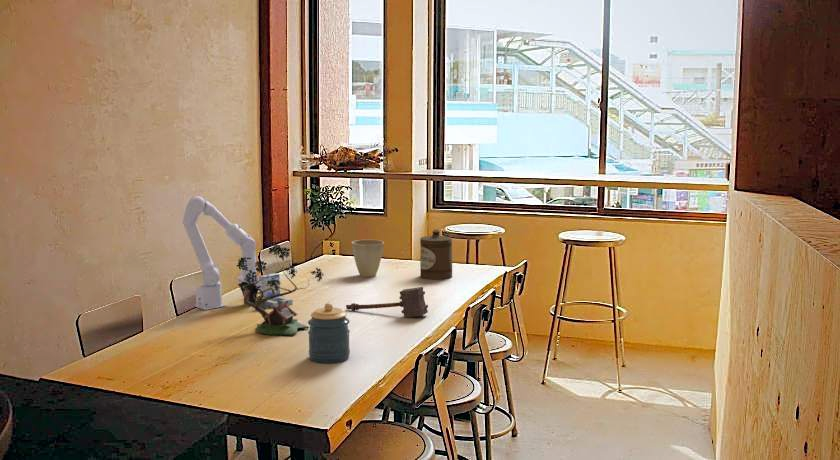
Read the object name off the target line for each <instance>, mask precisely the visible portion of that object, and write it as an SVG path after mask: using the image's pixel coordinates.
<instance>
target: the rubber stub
mask: <svg viewBox="0 0 840 460" xmlns="http://www.w3.org/2000/svg"><path fill="white" fill-rule="evenodd" d="M264 298H265V297H263V298H262V299H264ZM258 306H259V307H261V308H262V309H264V310H265V311H266V310H268V306H267V301H265V302H264V304H263V303H262V304H259V305H258Z"/></svg>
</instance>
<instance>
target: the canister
mask: <svg viewBox="0 0 840 460" xmlns="http://www.w3.org/2000/svg"><path fill="white" fill-rule="evenodd" d="M347 315H348V313H347V312H346V311H345V310H343V309H341V308H338V307H334V306H333V304H332V303H330V302H327V303H325V304H324V306H323V307H319V308H317V309H315V310H314V311H313V312H311V313H310V317H311V318H310V319H309V320H307V324H308V325H309V330H308V357H309V360H310V361H312V362H315V363H318V364H319V363H322V364H335V363H340V362H343V361H346V360H348V359H349V358H350V354H351V351H350V350H351V349H350V332H351V331H350V329H349V323H350V319H349V318H347Z"/></svg>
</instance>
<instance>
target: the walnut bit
mask: <svg viewBox="0 0 840 460" xmlns="http://www.w3.org/2000/svg"><path fill="white" fill-rule="evenodd" d="M247 293H248V291H247V290H244V297H243V299H244V298H245V296H246V295H247ZM246 300H247V301H248V302H250V300H249V296H248V297H247V299H246ZM256 301H257V300H256ZM256 301H255V302H256ZM255 302H252V304H253V303H255ZM243 305H244V306H247V307H250V305H248V304H247V303H246V302H245V301H244V300H243Z"/></svg>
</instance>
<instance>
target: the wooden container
mask: <svg viewBox="0 0 840 460" xmlns="http://www.w3.org/2000/svg"><path fill="white" fill-rule="evenodd" d="M440 233H441V231H440V230H439V229H433V230H432V233H431V234H432V235H427V236H422V237H420V241H419V242H420V243H419V244H420V259H419V260H420V261H419V262H420V263H419V264H420V269H419V270H420V273H419V274H420V278H422V279H425V280H437V281H438V280H447V279H451V278H452V277H453V246H452V245H453V243H452V242H453V239H452V237H451V236H446V235H445V236H444V235H441V234H440Z"/></svg>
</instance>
